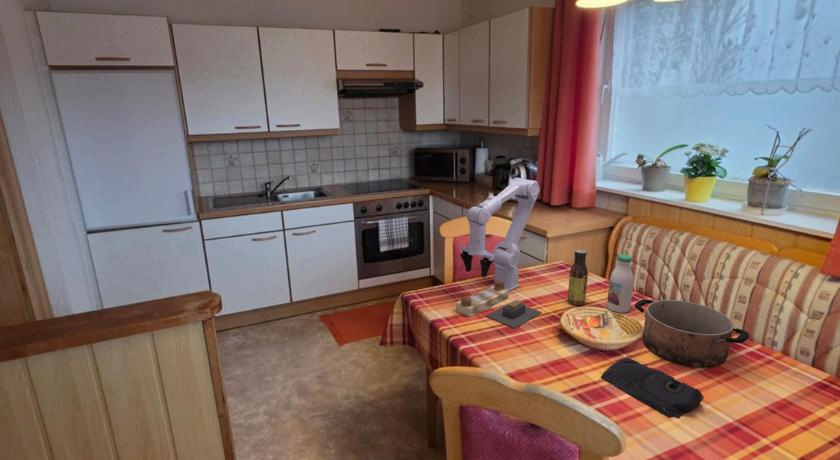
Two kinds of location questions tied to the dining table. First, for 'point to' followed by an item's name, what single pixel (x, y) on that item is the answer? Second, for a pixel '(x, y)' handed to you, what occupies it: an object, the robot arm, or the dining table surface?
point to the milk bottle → (621, 285)
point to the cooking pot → (688, 333)
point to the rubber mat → (517, 321)
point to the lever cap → (514, 309)
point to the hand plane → (482, 299)
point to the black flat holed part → (653, 388)
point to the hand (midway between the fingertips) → (476, 273)
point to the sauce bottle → (578, 279)
